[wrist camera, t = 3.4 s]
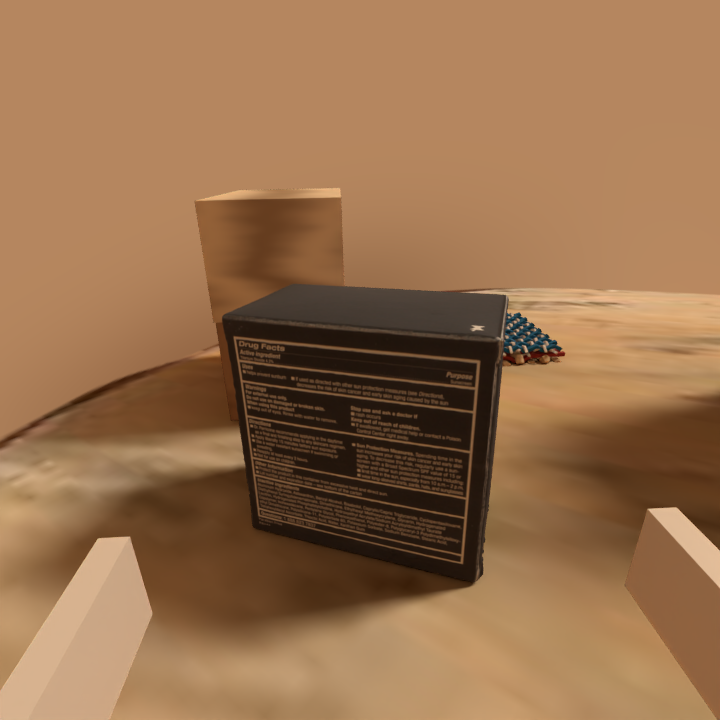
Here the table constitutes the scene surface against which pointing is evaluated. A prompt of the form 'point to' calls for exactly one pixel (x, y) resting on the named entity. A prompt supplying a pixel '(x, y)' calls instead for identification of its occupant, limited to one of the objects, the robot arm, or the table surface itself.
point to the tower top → (269, 243)
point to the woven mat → (527, 343)
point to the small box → (371, 419)
